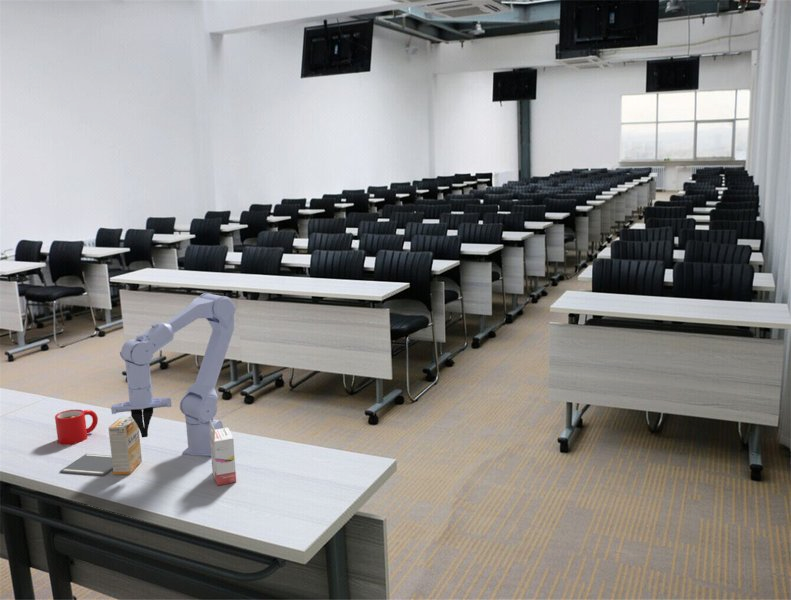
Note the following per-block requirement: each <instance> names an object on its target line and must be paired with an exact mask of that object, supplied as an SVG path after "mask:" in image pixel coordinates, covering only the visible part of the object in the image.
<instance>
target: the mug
mask: <svg viewBox="0 0 791 600" xmlns="http://www.w3.org/2000/svg"><path fill="white" fill-rule="evenodd" d="M88 415H89V416H90V417H91V419H92V423H91V424H90V425H89V427H87V423H86V416H88ZM54 419H55V420H54V421H55V427H56V434H57V435H56V436H57V443H58V444H59V445H64V446H65V445H75V444H78V443H82V442H83V441H85V440H87V439H88V434H89V433H91V432H93V431H94V430H95V429H96V427H97V425H98V423H99V422H98V421H99V420H98V415H97V413H96V412H95V411H93V410H91V409H85V410H84V409H83V410H82V409H69V410H63V411H61V412H58V413H56V415H55V416H54Z"/></svg>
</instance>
